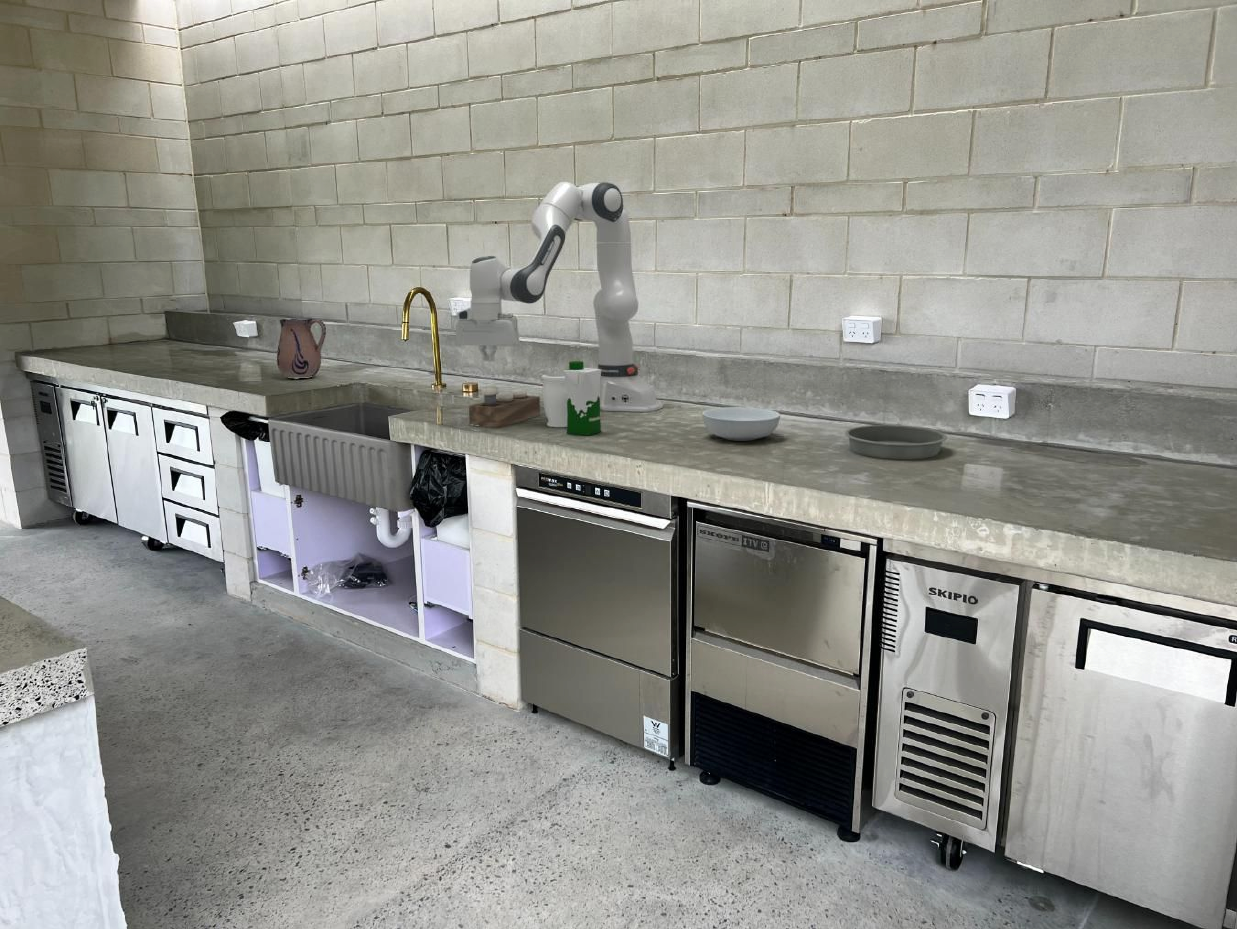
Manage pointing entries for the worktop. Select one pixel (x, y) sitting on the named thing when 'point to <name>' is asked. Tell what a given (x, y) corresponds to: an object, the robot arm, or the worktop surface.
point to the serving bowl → (741, 422)
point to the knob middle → (505, 397)
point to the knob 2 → (519, 393)
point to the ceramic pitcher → (299, 348)
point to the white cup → (555, 399)
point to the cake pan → (895, 441)
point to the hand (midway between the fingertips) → (488, 360)
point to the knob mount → (504, 412)
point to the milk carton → (583, 399)
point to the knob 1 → (490, 395)
